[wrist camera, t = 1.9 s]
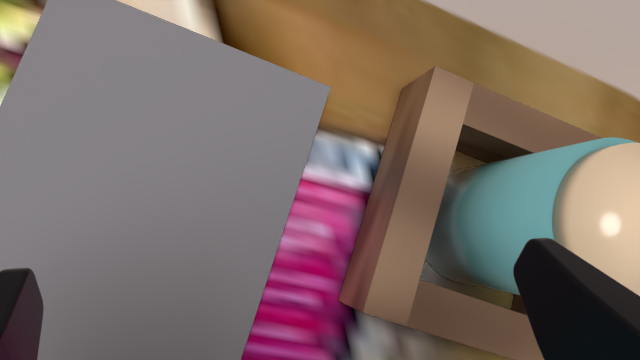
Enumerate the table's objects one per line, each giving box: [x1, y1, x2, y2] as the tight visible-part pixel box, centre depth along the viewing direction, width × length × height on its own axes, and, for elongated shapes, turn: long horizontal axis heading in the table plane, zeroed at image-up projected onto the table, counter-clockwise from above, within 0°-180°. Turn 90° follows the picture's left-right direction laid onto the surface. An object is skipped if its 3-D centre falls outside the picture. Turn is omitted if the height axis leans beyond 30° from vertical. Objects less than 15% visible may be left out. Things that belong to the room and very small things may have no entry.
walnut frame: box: [338, 66, 602, 360], centre depth 23 cm, size 11×11×4 cm
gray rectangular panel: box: [0, 0, 331, 360], centre depth 20 cm, size 20×12×1 cm, turn 162°
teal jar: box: [425, 138, 640, 296], centre depth 20 cm, size 6×6×10 cm
